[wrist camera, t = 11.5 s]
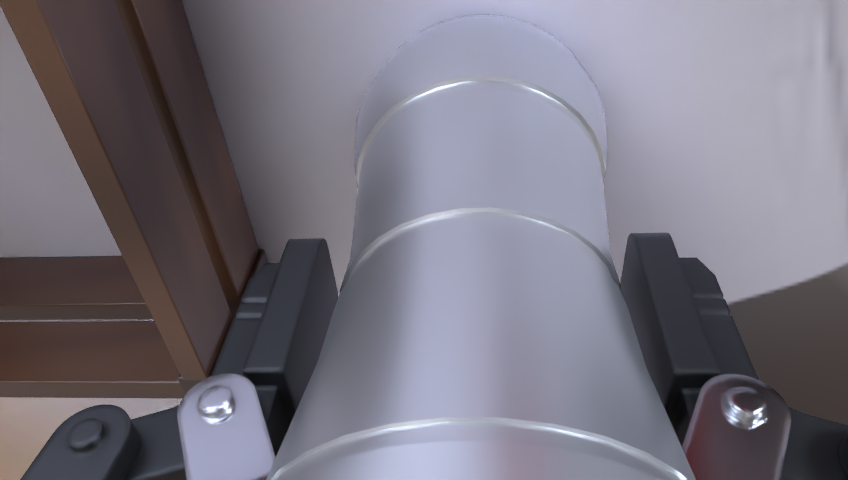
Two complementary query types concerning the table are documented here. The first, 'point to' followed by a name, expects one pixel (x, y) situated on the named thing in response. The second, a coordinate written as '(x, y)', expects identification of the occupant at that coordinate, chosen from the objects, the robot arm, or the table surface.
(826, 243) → the table surface
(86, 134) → the crate
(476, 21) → the metal water bottle
